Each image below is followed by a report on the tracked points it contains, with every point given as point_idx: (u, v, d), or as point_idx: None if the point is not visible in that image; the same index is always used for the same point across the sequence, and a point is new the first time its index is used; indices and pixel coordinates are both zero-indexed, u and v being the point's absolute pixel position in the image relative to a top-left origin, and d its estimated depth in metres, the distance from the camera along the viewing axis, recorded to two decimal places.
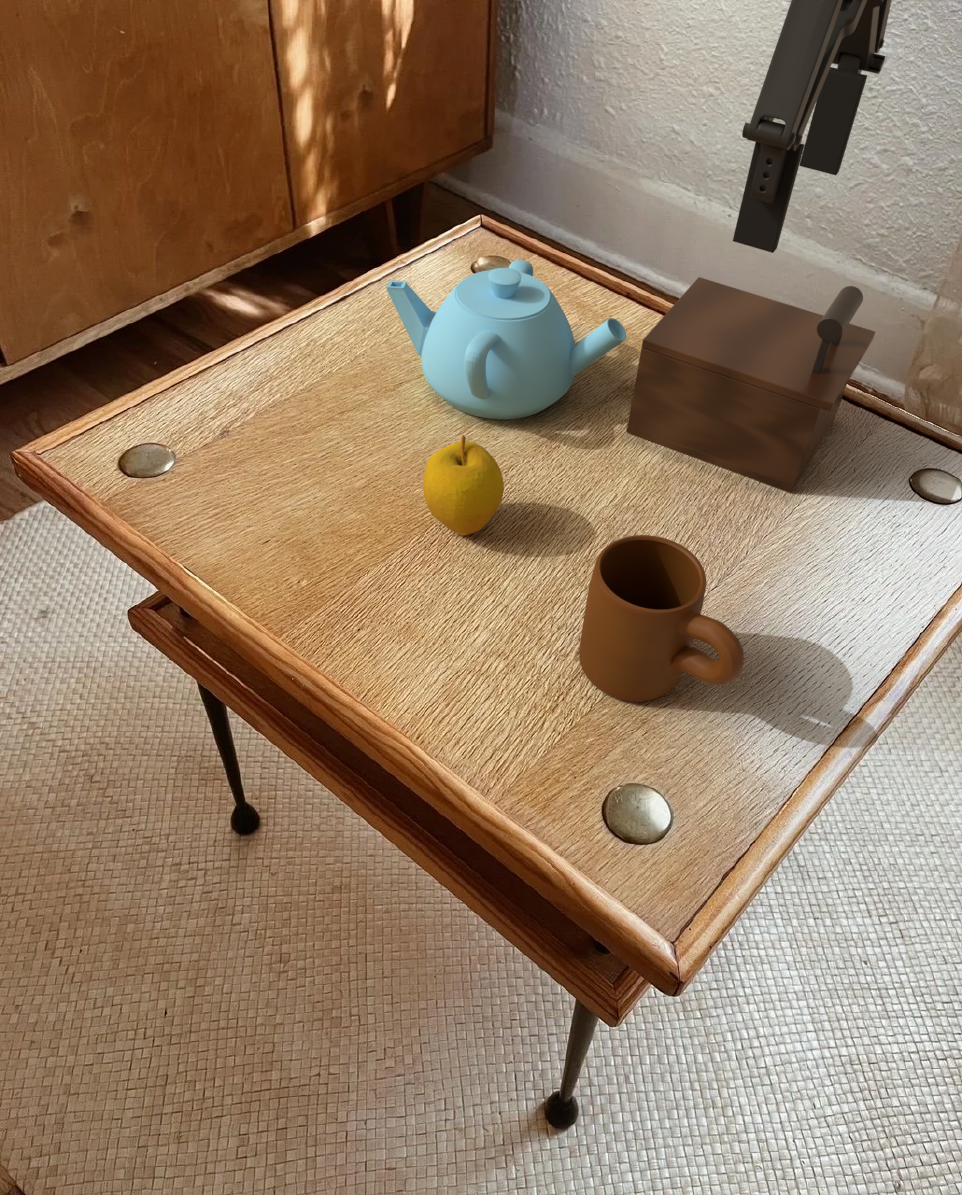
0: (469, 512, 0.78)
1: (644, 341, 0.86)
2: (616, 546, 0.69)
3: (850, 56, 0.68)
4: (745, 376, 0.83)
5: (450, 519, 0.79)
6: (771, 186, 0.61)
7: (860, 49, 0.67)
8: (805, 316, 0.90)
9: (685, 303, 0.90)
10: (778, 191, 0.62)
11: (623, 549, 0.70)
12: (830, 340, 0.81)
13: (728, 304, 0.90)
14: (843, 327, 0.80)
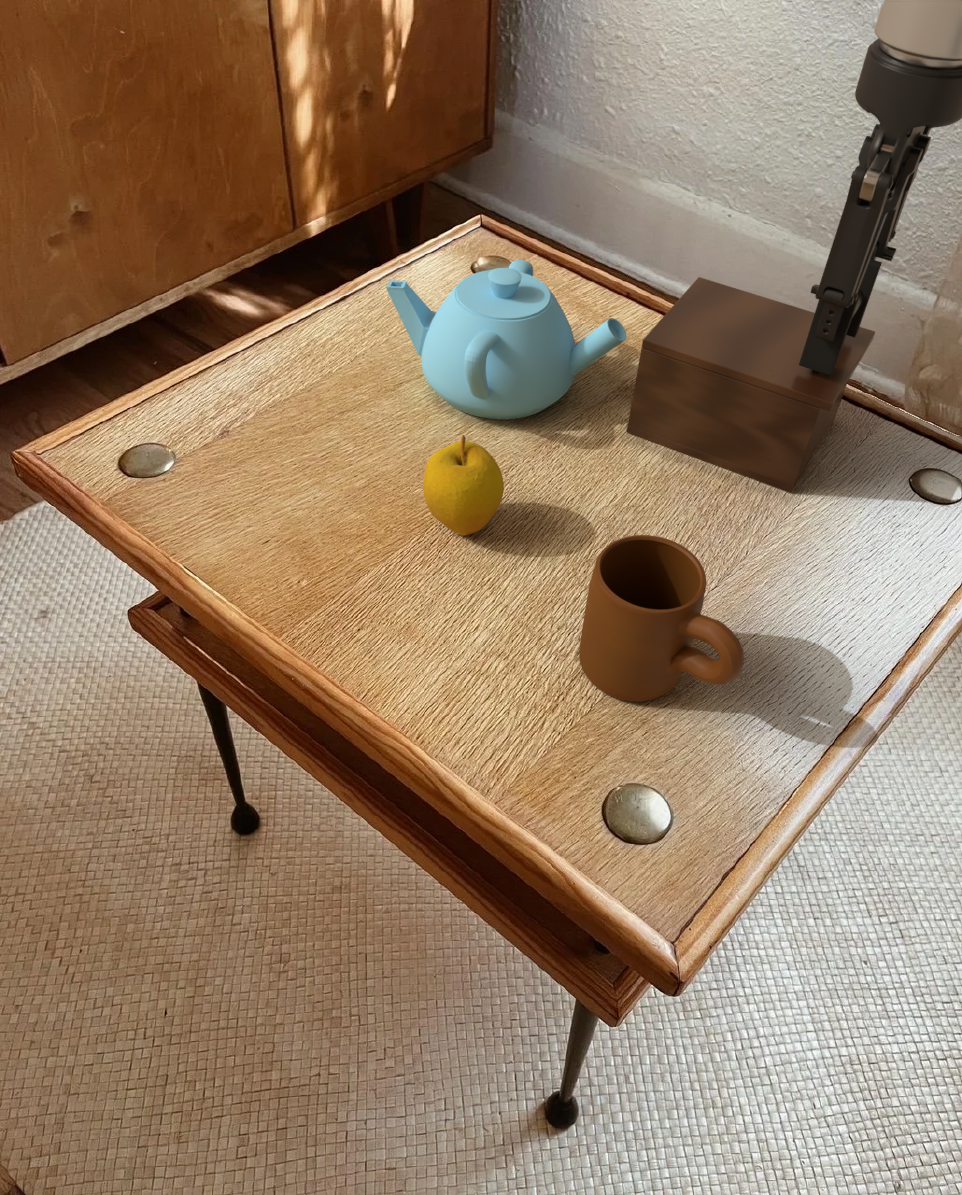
0: (469, 512, 0.78)
1: (644, 341, 0.86)
2: (616, 546, 0.69)
3: None
4: (745, 376, 0.83)
5: (450, 519, 0.79)
6: (832, 329, 0.78)
7: (880, 235, 0.80)
8: (805, 316, 0.90)
9: (685, 303, 0.90)
10: (837, 331, 0.80)
11: (623, 549, 0.70)
12: None
13: (728, 304, 0.90)
14: None
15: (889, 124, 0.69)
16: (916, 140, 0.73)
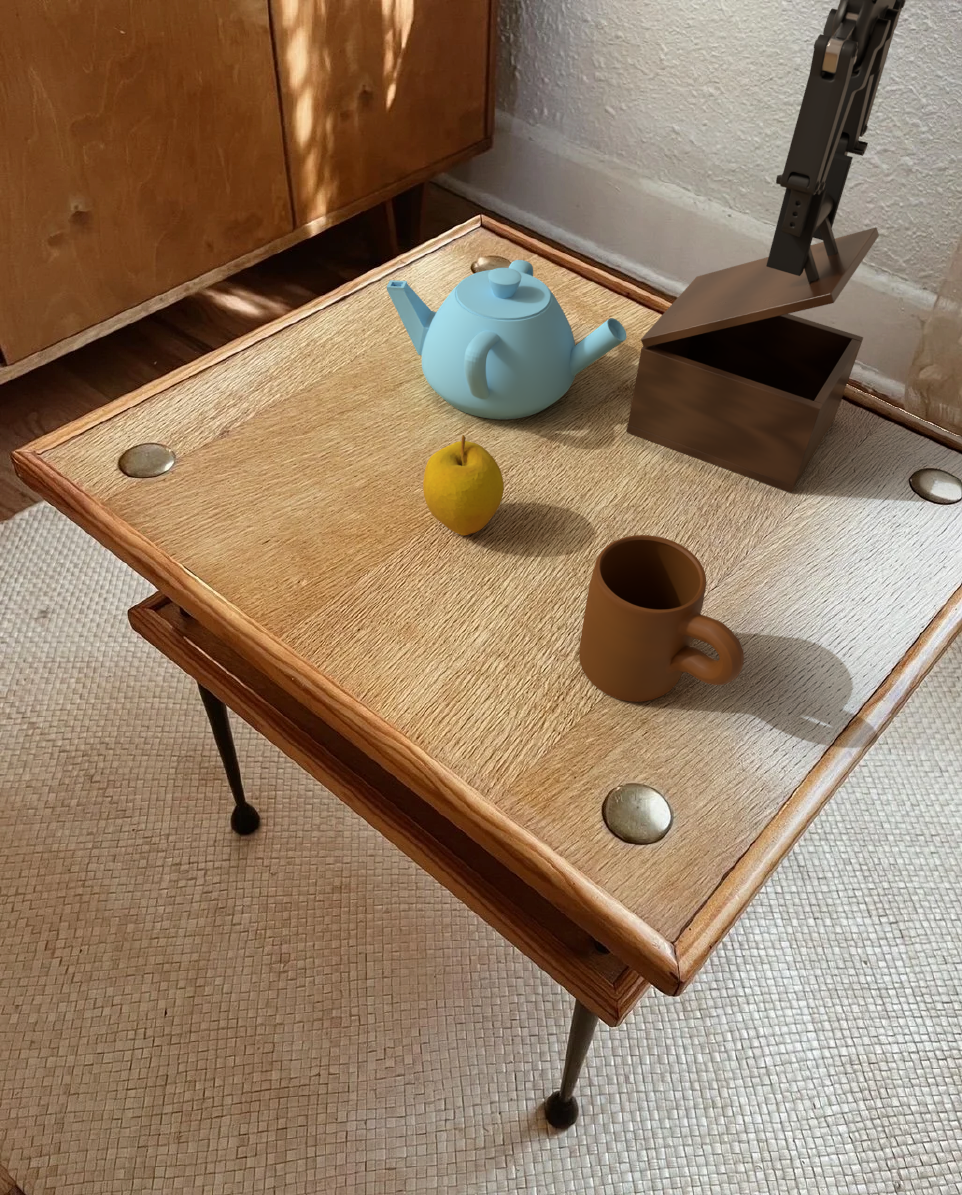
0: (469, 512, 0.78)
1: (642, 340, 0.86)
2: (616, 546, 0.69)
3: (839, 137, 0.78)
4: (740, 317, 0.80)
5: (450, 519, 0.79)
6: (799, 223, 0.75)
7: (850, 126, 0.76)
8: None
9: (682, 298, 0.90)
10: (804, 226, 0.76)
11: (623, 549, 0.70)
12: None
13: (724, 279, 0.89)
14: None
15: None
16: (884, 13, 0.69)
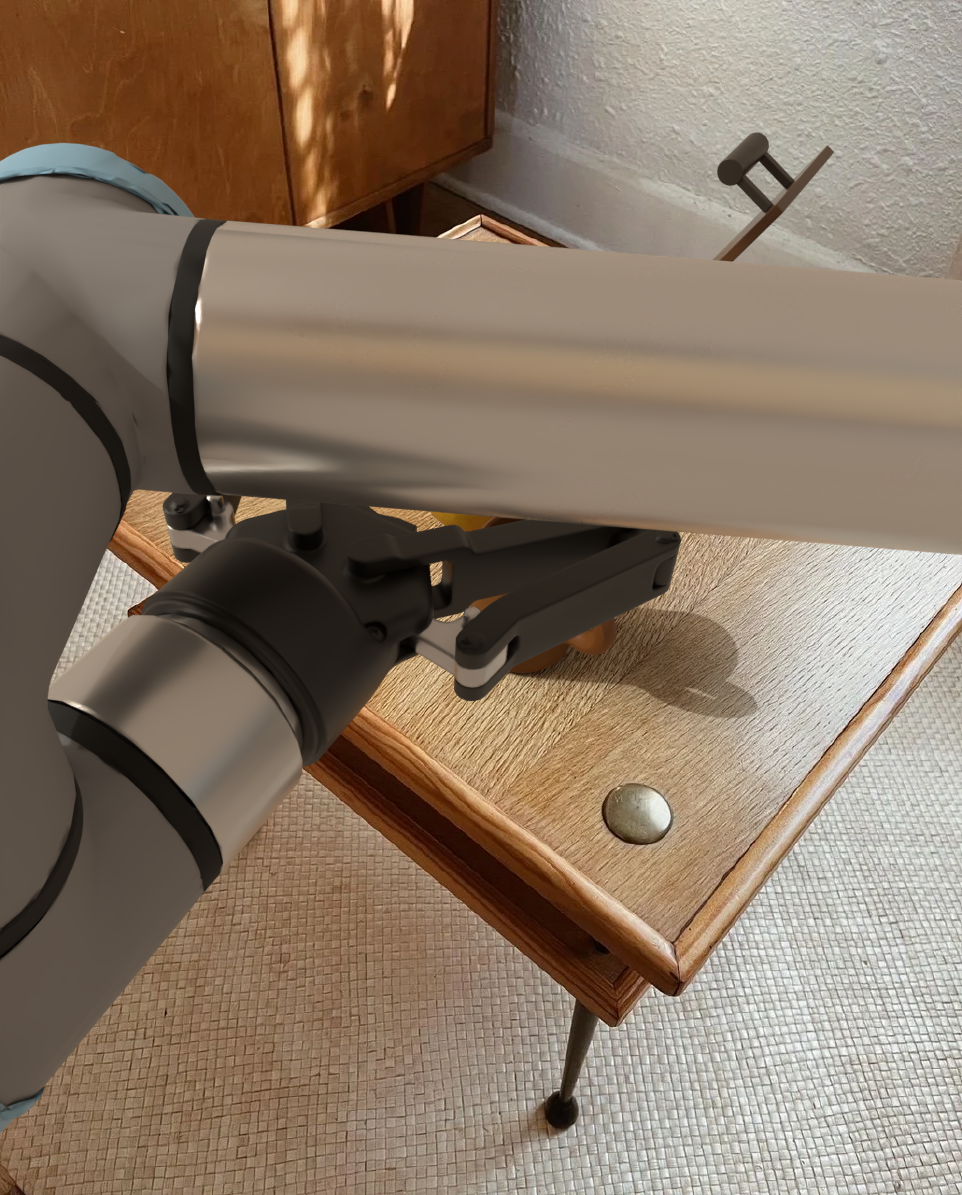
0: None
1: None
2: (500, 519, 0.70)
3: None
4: None
5: (450, 519, 0.79)
6: None
7: None
8: None
9: None
10: None
11: (508, 522, 0.71)
12: (740, 177, 0.77)
13: None
14: (736, 158, 0.76)
15: (384, 671, 0.34)
16: (313, 552, 0.36)
